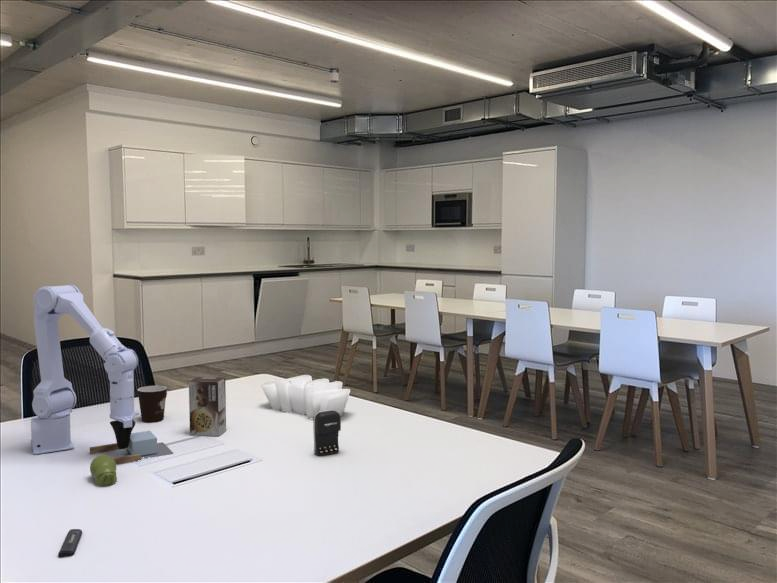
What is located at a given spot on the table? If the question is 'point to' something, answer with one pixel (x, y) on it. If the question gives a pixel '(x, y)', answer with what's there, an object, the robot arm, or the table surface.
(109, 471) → the pear
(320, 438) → the battery charger
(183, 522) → the table surface
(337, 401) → the white wavy slab sculpture
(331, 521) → the table surface
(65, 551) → the usb stick
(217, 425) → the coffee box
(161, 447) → the mat
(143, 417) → the coffee mug
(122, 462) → the chute
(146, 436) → the block
